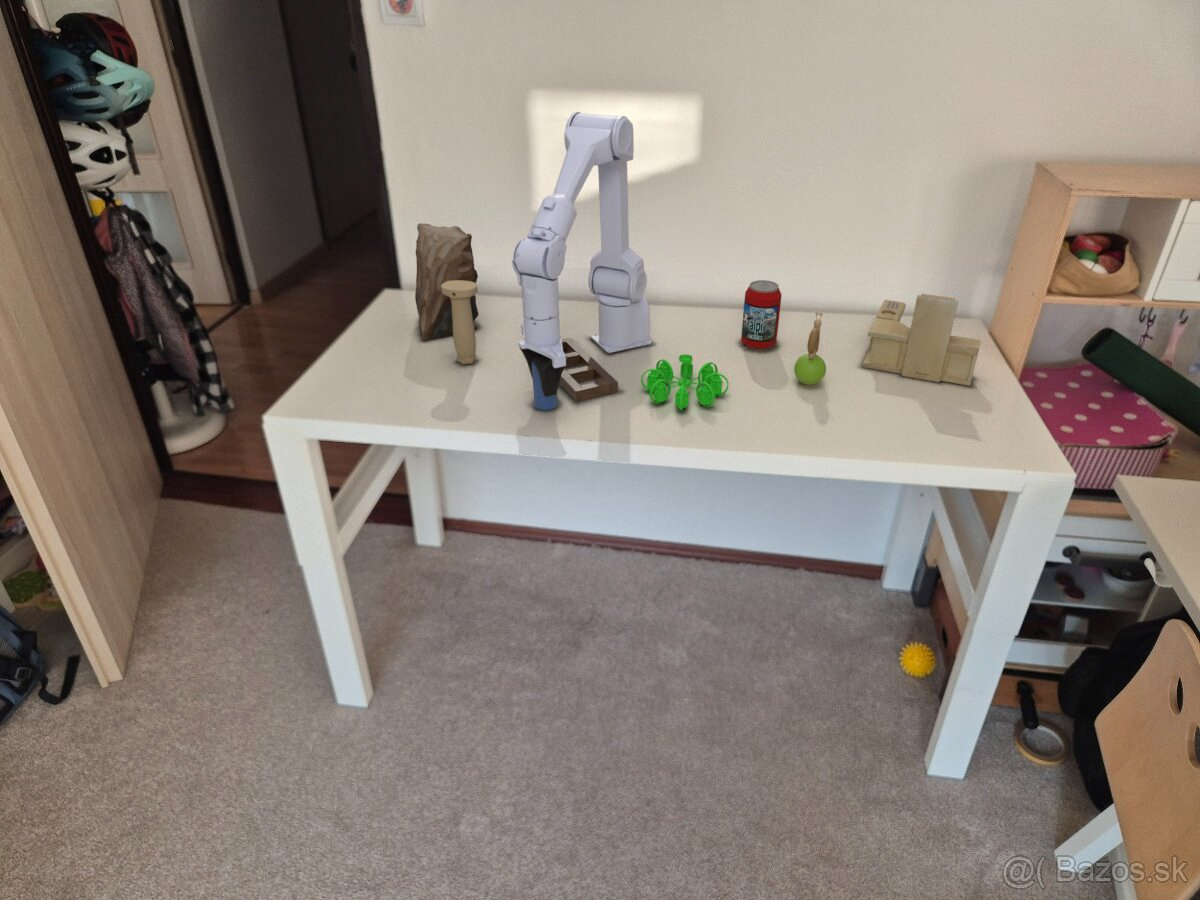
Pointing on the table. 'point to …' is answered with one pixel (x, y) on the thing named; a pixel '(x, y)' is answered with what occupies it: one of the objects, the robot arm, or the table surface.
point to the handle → (462, 318)
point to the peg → (541, 393)
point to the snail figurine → (811, 359)
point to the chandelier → (684, 382)
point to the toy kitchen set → (922, 342)
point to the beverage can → (761, 314)
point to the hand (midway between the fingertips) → (545, 388)
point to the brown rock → (441, 276)
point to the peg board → (584, 374)
